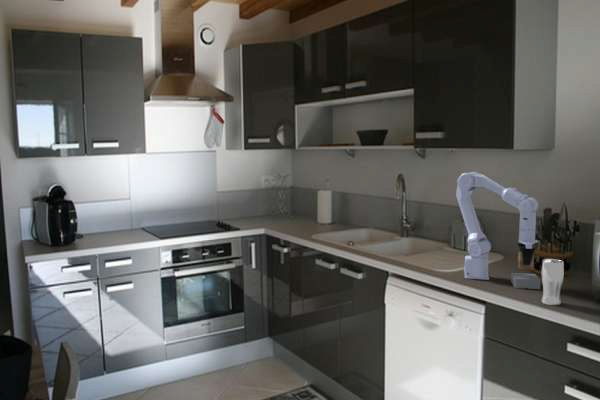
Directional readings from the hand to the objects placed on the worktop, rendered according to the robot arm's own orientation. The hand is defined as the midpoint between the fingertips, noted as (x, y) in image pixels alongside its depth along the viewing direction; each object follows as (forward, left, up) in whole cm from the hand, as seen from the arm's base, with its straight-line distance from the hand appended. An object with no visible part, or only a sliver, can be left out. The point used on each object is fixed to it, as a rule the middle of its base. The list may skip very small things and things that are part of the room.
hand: (525, 263), depth 201 cm
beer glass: (+6, -21, -9) cm, 24 cm away
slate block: (0, 0, -9) cm, 9 cm away
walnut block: (0, 0, -2) cm, 2 cm away
